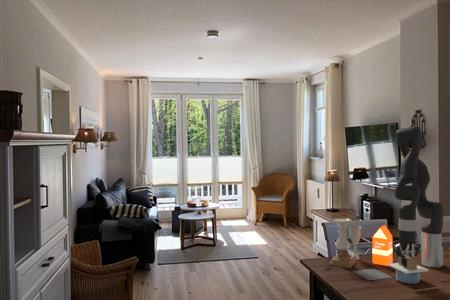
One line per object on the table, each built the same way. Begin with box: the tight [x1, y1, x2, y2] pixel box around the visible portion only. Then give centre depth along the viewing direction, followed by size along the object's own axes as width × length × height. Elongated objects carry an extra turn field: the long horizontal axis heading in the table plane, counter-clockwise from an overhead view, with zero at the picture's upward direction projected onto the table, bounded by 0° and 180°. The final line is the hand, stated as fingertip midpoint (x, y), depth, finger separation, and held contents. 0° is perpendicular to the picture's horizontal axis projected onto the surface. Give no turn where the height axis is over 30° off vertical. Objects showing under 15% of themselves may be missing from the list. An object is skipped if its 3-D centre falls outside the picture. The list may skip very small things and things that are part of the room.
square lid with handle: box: [387, 254, 429, 274], centre depth 169 cm, size 12×12×5 cm
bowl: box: [395, 269, 421, 285], centre depth 169 cm, size 10×10×5 cm
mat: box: [352, 268, 393, 281], centre depth 176 cm, size 13×13×1 cm
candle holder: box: [329, 217, 357, 269], centre depth 193 cm, size 11×11×24 cm
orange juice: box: [371, 224, 394, 267], centre depth 194 cm, size 8×9×20 cm
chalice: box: [348, 224, 362, 261], centre depth 202 cm, size 7×7×18 cm
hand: (407, 265), depth 169 cm, fingers closed on square lid with handle, 3 cm apart
